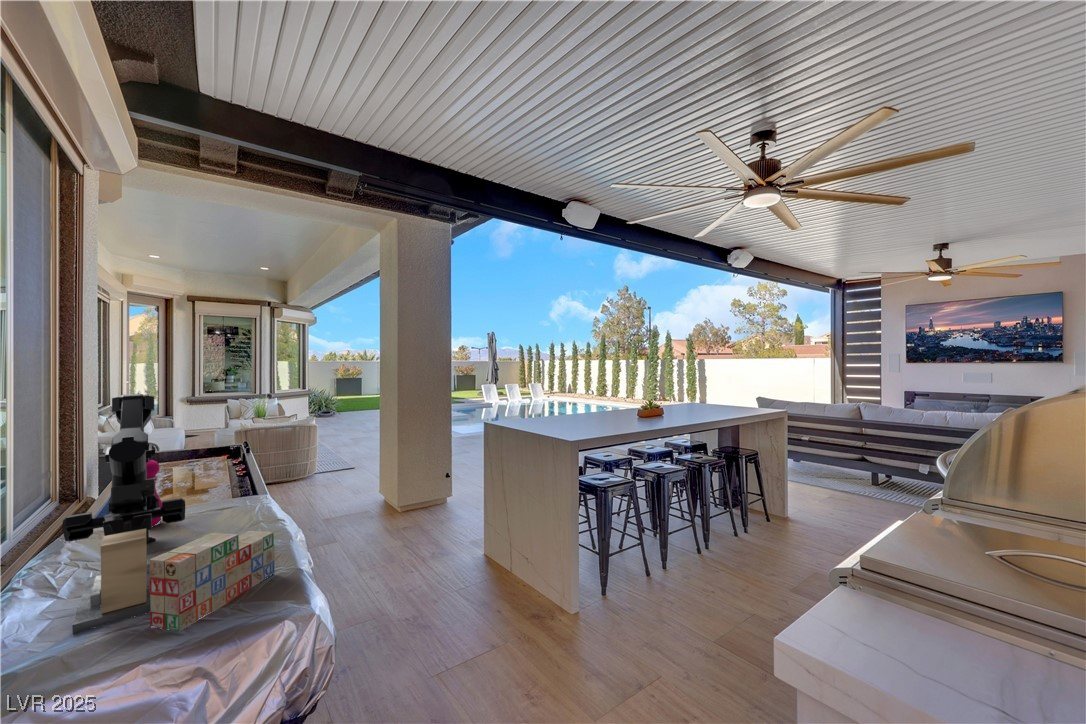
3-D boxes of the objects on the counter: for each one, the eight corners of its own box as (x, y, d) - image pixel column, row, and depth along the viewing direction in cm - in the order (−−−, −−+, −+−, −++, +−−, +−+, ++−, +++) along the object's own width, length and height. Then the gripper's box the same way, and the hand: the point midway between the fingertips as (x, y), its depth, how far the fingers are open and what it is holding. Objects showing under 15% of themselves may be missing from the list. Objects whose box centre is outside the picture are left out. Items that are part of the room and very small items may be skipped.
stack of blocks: (250, 572, 100) (249, 516, 100) (275, 574, 99) (274, 518, 99) (149, 629, 79) (148, 558, 79) (179, 633, 78) (178, 561, 78)
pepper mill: (143, 521, 131) (142, 452, 131) (169, 521, 132) (168, 451, 131) (121, 531, 124) (120, 457, 124) (149, 530, 124) (148, 456, 124)
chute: (87, 584, 94) (87, 568, 94) (169, 566, 103) (168, 550, 103) (72, 633, 78) (72, 613, 78) (171, 606, 86) (170, 588, 86)
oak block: (104, 600, 85) (103, 536, 85) (146, 589, 89) (146, 528, 89) (101, 613, 81) (100, 546, 81) (146, 601, 85) (145, 537, 85)
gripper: (62, 475, 89) (53, 550, 81) (184, 461, 101) (187, 525, 93) (69, 505, 95) (61, 578, 87) (183, 488, 107) (186, 551, 99)
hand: (127, 556), depth 91 cm, fingers closed
